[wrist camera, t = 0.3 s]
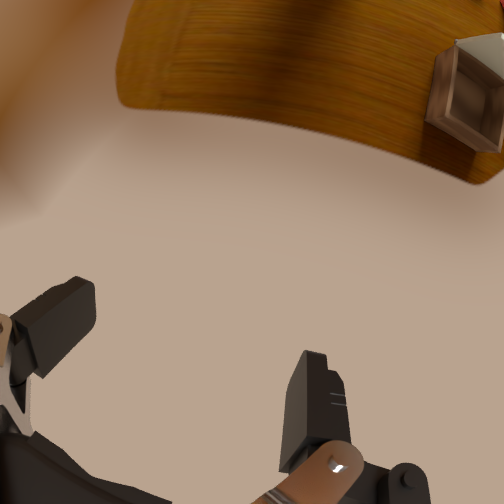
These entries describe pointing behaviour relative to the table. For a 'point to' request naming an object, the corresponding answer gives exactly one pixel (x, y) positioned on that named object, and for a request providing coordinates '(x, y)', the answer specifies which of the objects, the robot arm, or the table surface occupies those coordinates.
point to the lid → (486, 50)
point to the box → (467, 100)
